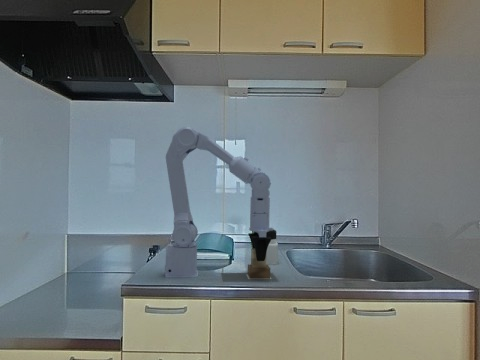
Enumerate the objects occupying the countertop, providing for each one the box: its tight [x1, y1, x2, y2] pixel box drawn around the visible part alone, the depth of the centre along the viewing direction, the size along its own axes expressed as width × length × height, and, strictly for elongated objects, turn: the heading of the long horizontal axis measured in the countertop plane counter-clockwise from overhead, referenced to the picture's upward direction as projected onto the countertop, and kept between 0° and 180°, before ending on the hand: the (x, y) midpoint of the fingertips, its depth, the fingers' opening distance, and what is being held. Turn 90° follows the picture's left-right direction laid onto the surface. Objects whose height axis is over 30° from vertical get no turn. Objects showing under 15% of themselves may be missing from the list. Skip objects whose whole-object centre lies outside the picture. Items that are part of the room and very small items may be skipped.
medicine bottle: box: [266, 228, 279, 266], centre depth 164 cm, size 7×7×12 cm
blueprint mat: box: [220, 272, 280, 283], centre depth 139 cm, size 16×12×1 cm
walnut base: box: [247, 263, 271, 279], centre depth 141 cm, size 6×6×3 cm
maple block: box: [250, 248, 266, 268], centre depth 141 cm, size 4×4×5 cm
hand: (258, 258), depth 141 cm, fingers open, 7 cm apart
